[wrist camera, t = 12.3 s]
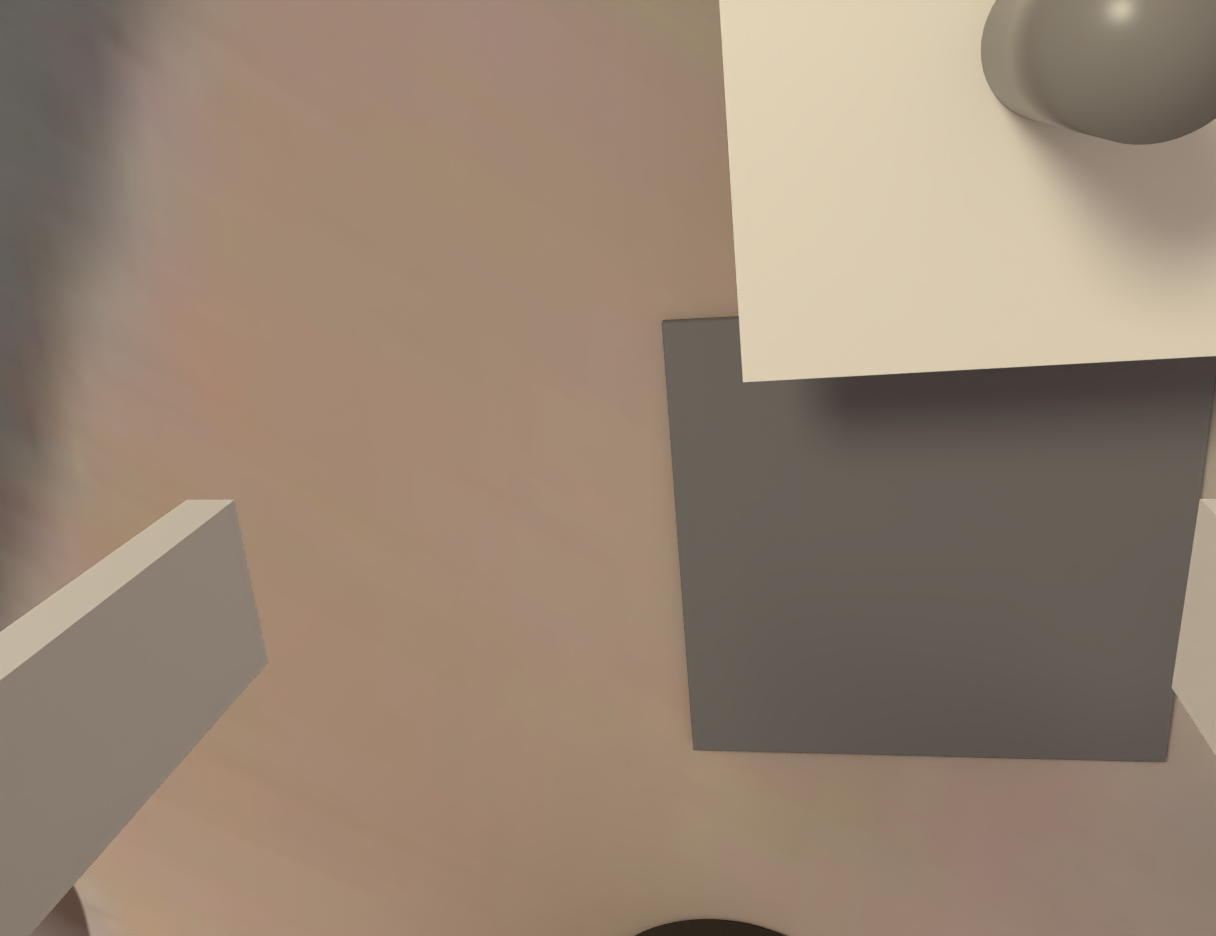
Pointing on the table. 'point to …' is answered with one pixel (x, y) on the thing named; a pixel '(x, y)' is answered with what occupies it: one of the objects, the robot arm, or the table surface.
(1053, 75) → the lid
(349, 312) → the table surface
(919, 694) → the mat
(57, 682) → the robot arm
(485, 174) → the table surface
